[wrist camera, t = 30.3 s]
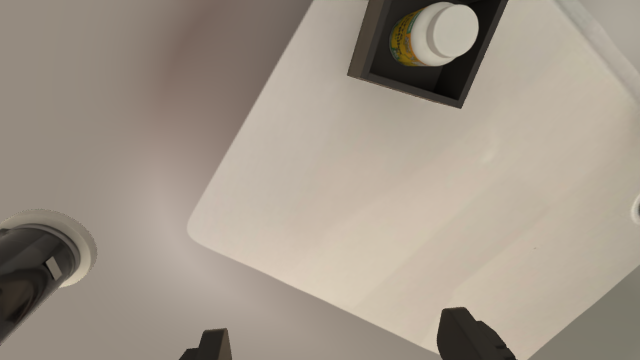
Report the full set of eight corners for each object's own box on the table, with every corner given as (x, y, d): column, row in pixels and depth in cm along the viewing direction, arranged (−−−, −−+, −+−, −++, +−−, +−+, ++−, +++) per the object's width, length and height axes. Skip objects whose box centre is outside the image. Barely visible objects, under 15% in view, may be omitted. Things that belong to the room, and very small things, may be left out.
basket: (346, 75, 35) (360, 77, 29) (379, -36, 31) (403, -60, 25) (432, 101, 37) (461, 109, 31) (472, 0, 33) (514, -13, 27)
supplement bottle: (426, 68, 35) (475, 70, 26) (383, 63, 34) (418, 62, 25) (438, 17, 33) (495, 0, 24) (392, 10, 32) (434, -11, 23)
